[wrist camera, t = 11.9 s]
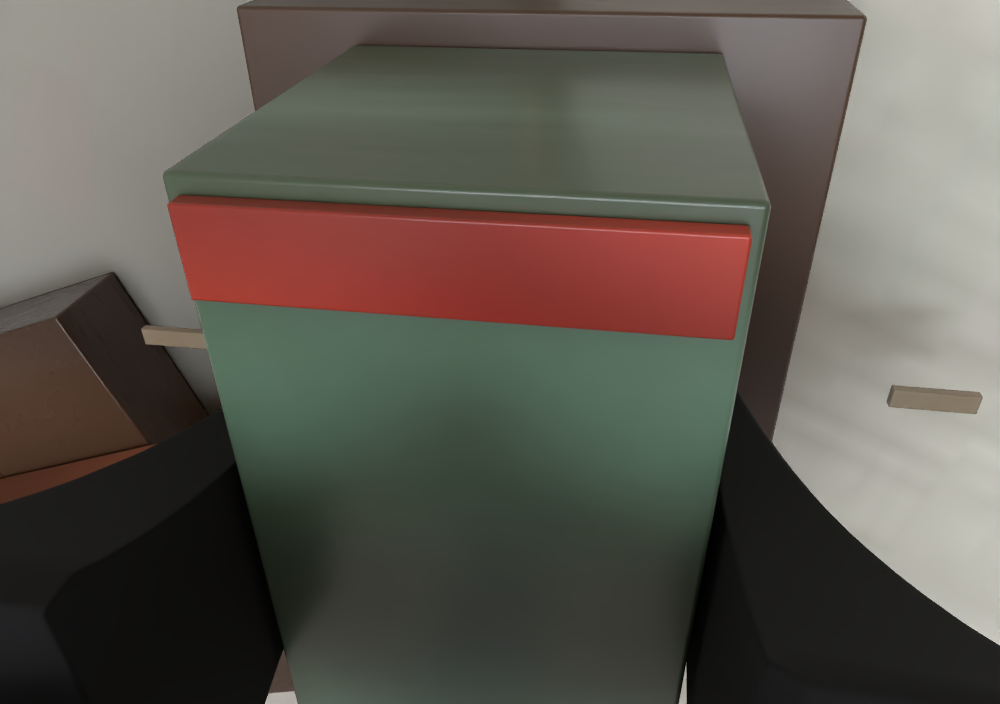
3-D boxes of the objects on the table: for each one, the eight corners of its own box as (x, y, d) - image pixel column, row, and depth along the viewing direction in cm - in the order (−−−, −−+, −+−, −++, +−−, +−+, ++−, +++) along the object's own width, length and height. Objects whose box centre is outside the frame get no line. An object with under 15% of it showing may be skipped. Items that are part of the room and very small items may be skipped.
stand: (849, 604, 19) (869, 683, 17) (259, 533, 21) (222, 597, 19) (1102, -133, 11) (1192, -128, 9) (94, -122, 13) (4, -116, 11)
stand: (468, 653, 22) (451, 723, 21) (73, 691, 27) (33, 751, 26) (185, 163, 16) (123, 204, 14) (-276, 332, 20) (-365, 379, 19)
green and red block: (651, 588, 17) (649, 879, 12) (408, 558, 18) (317, 821, 13) (724, 52, 11) (776, 212, 6) (352, 44, 12) (144, 181, 7)
